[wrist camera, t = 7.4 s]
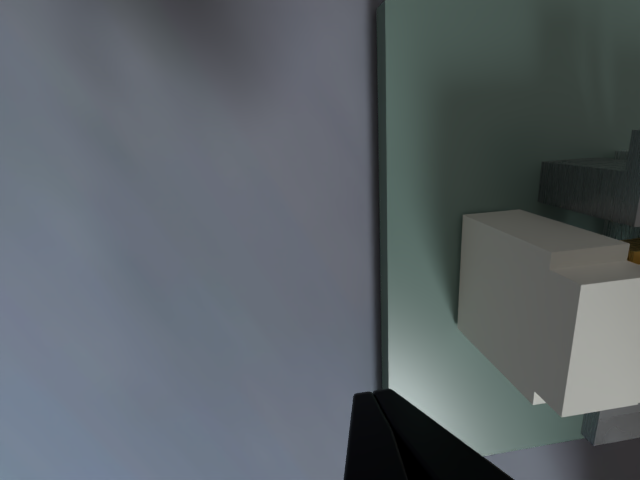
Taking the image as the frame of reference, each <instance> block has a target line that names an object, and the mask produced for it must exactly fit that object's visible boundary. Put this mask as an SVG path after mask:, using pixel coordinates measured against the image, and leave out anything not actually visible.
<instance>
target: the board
mask: <svg viewBox="0 0 640 480" xmlns="http://www.w3.org/2000/svg"><path fill="white" fill-rule="evenodd" d="M377 74H378V141H379V207H380V274H381V340H382V389H392V390H394V391H395V392H396V393H398V394H399V395H400V396H402V397H403V398H405V399H406V400H407V401H409V402H410V403H411V404H413V405H414V406H415V407H417V408H418V409H419V410H421V411H422V412H423V413H425V414H426V415H427V416H429V417H430V418H432V419H433V420H434V421H436V422H437V423H438V424H440V425H441V426H442V427H444V428H445V429H446V430H448V431H449V432H450V433H452V434H453V435H455V436H456V437H457V438H459V439H460V440H461V441H463V442H464V443H465V444H467V445H468V446H469V447H471V448H472V449H473V450H475V451H476V452H478V453H479V454H480V455H482V456H487V455H493V454H499V453H504V452H510V451H515V450H521V449H527V448H532V447H538V446H543V445H549V444H555V443H560V442H566V441H571V440H577V439H583V438H585V437H584V436H583V435H582V434H581V427H582V421H583V416H584V414H579V415H573V416H567V417H562V418H561V417H560V416H559V415H558V414H557V413H556V412H555V411H554V410H553V409H552V408H551V407H550V406H549V405H548V404H547V403H543V404H537V405H532V404H531V403H530V402H529V401H528V400H527V399H526V398H525V397H524V396H523V395H522V394H521V393H520V392H519V391H518V389H517V388H516V387H515V386H514V385H513V384H512V383H511V382H510V381H509V380H508V379H507V378H506V377H505V376H504V375H503V374H502V373H501V372H500V371H499V370H498V369H497V368H496V367H495V366H494V365H493V364H492V363H491V362H490V361H489V360H488V359H487V358H486V357H485V356H484V355H483V354H482V353H481V352H480V351H479V350H478V349H477V348H476V347H475V346H474V345H473V344H472V343H471V342H470V341H469V340H468V339H467V337H466V336H465V335H464V334H463V333H462V332H461V331H460V330H459V329H458V328H457V323H458V303H459V283H460V263H461V243H462V222H463V215H465V214H476V213H486V212H496V211H507V210H517V209H520V210H523V211H527V212H530V213H533V214H536V215H539V216H543V217H546V218H549V219H552V220H556V221H559V222H562V223H565V224H568V225H572V226H575V227H578V228H581V229H585V230H588V231H591V232H594V233H597V234H601V235H602V231H603V225H604V219H601V218H597V217H593V216H590V215H586V214H582V213H578V212H574V211H571V210H567V209H563V208H559V207H555V206H552V205H548V204H544V203H540V202H538V193H539V183H540V174H541V165H542V162H544V161H557V160H569V159H582V158H594V157H599V158H611V159H614V157H615V151H619V150H629V145H630V140H631V134H632V130H640V0H385V1H384V2H383V3H382V4H381V5H380V6H379V7H378V8H377Z"/></svg>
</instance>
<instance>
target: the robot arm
mask: <svg viewBox="0 0 640 480" xmlns="http://www.w3.org/2000/svg"><path fill="white" fill-rule="evenodd" d="M344 480H514V479H513V478H511V477H510V476H509V475H507V474H506V473H505V472H503V471H502V470H501V469H499V468H498V467H496V466H495V465H494V464H492V463H491V462H490V461H488V460H487V459H486V458H484V457H483V456H482V455H480V454H479V453H478V452H476V451H475V450H473V449H472V448H471V447H469V446H468V445H467V444H465V443H464V442H463V441H461V440H460V439H459V438H457V437H456V436H455V435H453V434H452V433H450V432H449V431H448V430H446V429H445V428H444V427H442V426H441V425H440V424H438V423H437V422H436V421H434V420H433V419H432V418H430V417H429V416H427V415H426V414H425V413H423V412H422V411H421V410H419V409H418V408H417V407H415V406H414V405H413V404H411V403H410V402H409V401H407V400H406V399H405V398H403V397H402V396H400V395H399V394H398V393H396V392H395V391H394V390H392V389H382V390H376V391H374V392H373V393H372V392H362V393H356V394H354V396H353V404H352V413H351V421H350V430H349V438H348V447H347V456H346V464H345V473H344Z"/></svg>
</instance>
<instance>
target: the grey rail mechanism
mask: <svg viewBox="0 0 640 480" xmlns="http://www.w3.org/2000/svg"><path fill="white" fill-rule="evenodd" d="M538 202H540V203H544V204H548V205H552V206H555V207H559V208H563V209H567V210H571V211H574V212H578V213H582V214H586V215H590V216H593V217H597V218H601V219H604V225H603V231H602V235H604V236H607V237H610V238H614V239H617V240H626V239H635V238H640V130H632V134H631V140H630V145H629V150H619V151H615V157H614V159H611V158H599V157H594V158H582V159H569V160H557V161H544V162H542V165H541V174H540V183H539V193H538ZM581 434H582V435H583V436H584V437H585V438H586V439H587V440H588V441H589V442H590V443H591V444H592V445H593V446H596V445H602V444H607V443H613V442H618V441H624V440H629V439H635V438H640V403H638V405H632V406H626V407H620V408H614V409H609V410H603V411H597V412H591V413H585V414H584V416H583V421H582V427H581Z"/></svg>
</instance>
